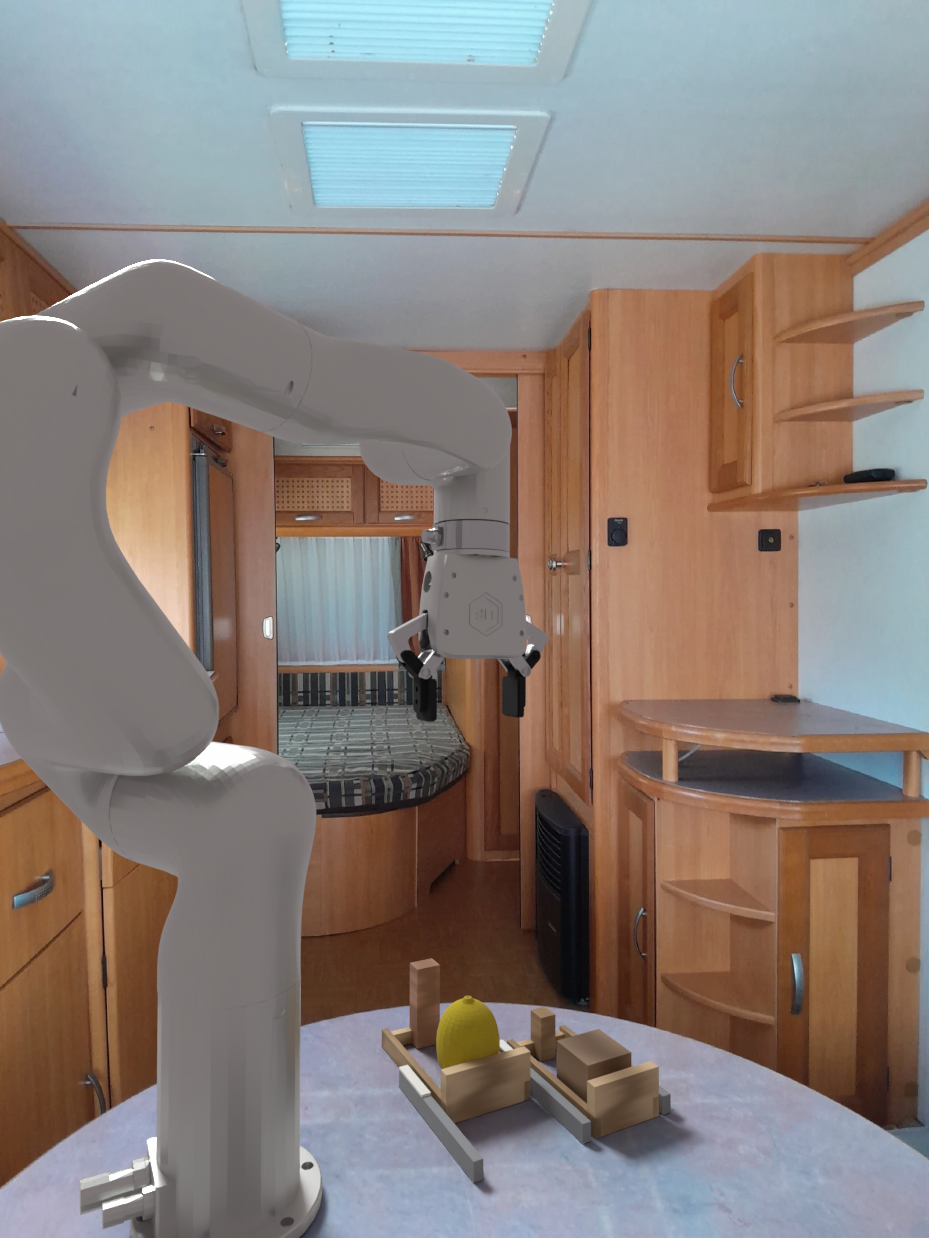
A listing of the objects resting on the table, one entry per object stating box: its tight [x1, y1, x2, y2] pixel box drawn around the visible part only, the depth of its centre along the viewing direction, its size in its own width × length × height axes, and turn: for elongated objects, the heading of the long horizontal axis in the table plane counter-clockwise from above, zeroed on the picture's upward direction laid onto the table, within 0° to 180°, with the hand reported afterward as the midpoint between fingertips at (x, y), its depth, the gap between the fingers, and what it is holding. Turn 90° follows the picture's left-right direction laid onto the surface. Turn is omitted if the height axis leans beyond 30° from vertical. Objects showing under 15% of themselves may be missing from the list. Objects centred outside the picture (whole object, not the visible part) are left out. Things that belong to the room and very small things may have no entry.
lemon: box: [435, 995, 501, 1070], centre depth 69 cm, size 6×6×8 cm
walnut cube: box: [556, 1028, 632, 1104], centre depth 68 cm, size 4×4×4 cm
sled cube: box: [506, 1006, 660, 1140], centre depth 70 cm, size 6×14×4 cm, turn 28°
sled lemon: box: [381, 958, 531, 1124], centre depth 72 cm, size 8×14×8 cm, turn 27°
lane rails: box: [398, 1039, 592, 1184], centre depth 66 cm, size 10×14×2 cm
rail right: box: [631, 1064, 672, 1116], centre depth 71 cm, size 1×11×2 cm, turn 27°
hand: (470, 718), depth 78 cm, fingers open, 9 cm apart
